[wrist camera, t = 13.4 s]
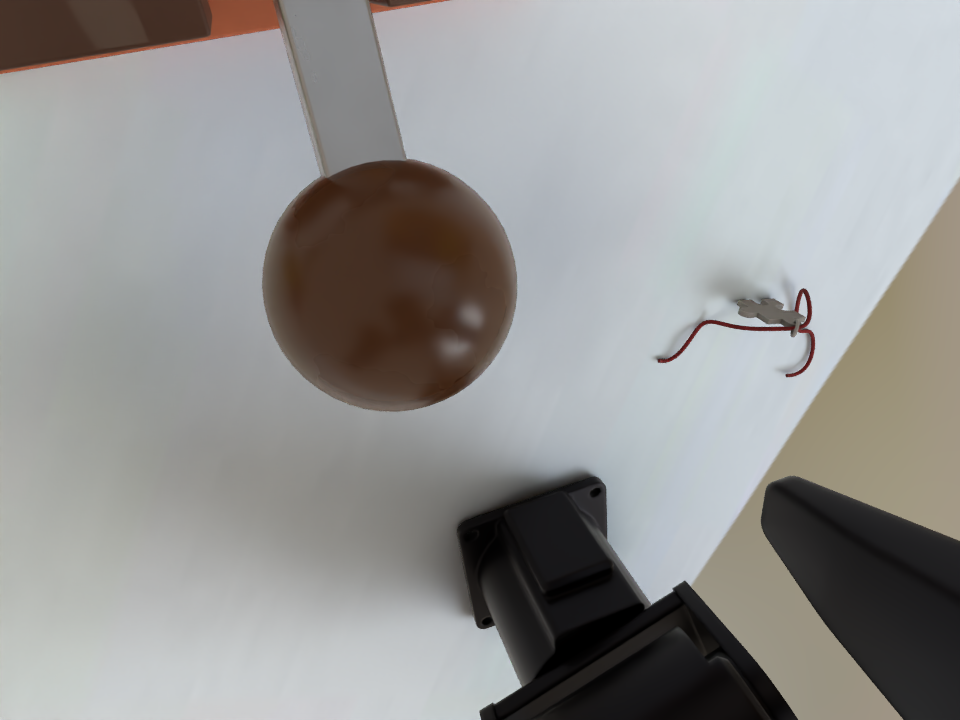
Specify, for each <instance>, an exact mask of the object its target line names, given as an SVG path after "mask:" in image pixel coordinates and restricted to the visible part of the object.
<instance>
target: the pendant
mask: <svg viewBox="0 0 960 720" xmlns="http://www.w3.org/2000/svg"><path fill="white" fill-rule="evenodd" d="M803 293H804V294H805V297H806V301H807V309H808V313H807V319H806V321H805V318H806V317H804V316H803V315H801V314H799V313H798V311H799V305H800V300H801V296H802V294H803ZM737 305H738V306H740V308H739V311H738V314H739V315H741V316H743V317H747V318H754V317H757V318H759V319H760V320H762V321H763V322H765V323H766V324H782V325H783V326H785V327H748V326H739V325H733V324H729V323H725V322H721V321H716V320H706V321H704V322H702V323H700V324H699V325H698V326H697V327H696V328H695V330H694V331H693V332H692V334H691V335H690V337H689V338H688V340H687V341H686V343H685V344H684V345H683V346H682V348H681V349H680V350H679V351H678V352H677V353H676V354H675V355H673V356H672V357H670V358H668V359H658V363H666V362H670V361H672V360H674V359H676V358H677V357H678V356H679V355H680V354H681V353H682V352H683V351H684V350H685V349H686V347H687V346H688V345H689V343H690V342H691V341H692V339H693V338H694V336H695V335H696V333H697V332H698V331H699V329H700V328H701V327H702V326H704V325H706V324H717V325H721V326H725V327H730V328H734V329H740V330H751V331H789V330H791V337H795V336H796V334H797V332H799V333H809V334H810V336H811V352H810V356H809V358H808V361H807V363H806V364H805V366H804V367H803V368H802V369H801V370H799V371H798V372H796V373H792V374H786V377H793V376H797V375H799V374H801V373H803V372H804V371H805V370H806V369H807V368H808V366H809V365H810V363H811V361H812V358H813V355H814V350H815V337H814V334H813V332H812V331H811V330H808V329H803V330H802V328H804V327H806V326H807V325H808V324H809V322H810V320H811V316H812V306H811V300H810V296H809V293H808V291H807V290H806V289H804V288H803V289H801V290H800V291H799V293H798V296H797V300H796V305H795V311H784V310H781V309H782V308H783V306H784V304H782V303H780V302H779V301H777V300H775V299H762V301H761V305H760V304H757V303H755V302H754V301H752V300H738V303H737ZM804 321H805V322H804ZM801 322H804V323H803V324H802V325H801Z"/></svg>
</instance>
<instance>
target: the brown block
mask: <svg viewBox="0 0 960 720" xmlns="http://www.w3.org/2000/svg"><path fill="white" fill-rule="evenodd" d="M442 1H448V0H369V4H370V8H371V12H372V13H375V12H381V11H388V10H394V9H400V8H406V7H412V6H418V5H424V4H430V3H436V2H442ZM278 28H280V25H279V21H278V18H277V14H276V11H275V7H274V3H273V0H0V74H4V73H10V72H16V71H22V70H28V69H34V68H40V67H46V66H52V65H59V64H65V63H71V62H77V61H83V60H89V59H95V58H101V57H107V56H113V55H119V54H126V53H132V52H138V51H144V50H150V49H156V48H162V47H168V46H174V45H180V44H186V43H193V42H199V41H205V40H211V39H217V38H223V37H229V36H235V35H241V34H247V33H253V32H260V31H266V30H272V29H278Z"/></svg>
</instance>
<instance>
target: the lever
mask: <svg viewBox="0 0 960 720" xmlns="http://www.w3.org/2000/svg"><path fill="white" fill-rule="evenodd" d="M273 3H274V7H275V11H276V14H277V18H278V21H279V25H280V29H281V32H282V36H283V40H284V43H285V47H286V51H287V54H288V58H289V62H290V65H291V69H292V73H293V76H294V80H295V84H296V87H297V91H298V94H299V98H300V102H301V105H302V109H303V113H304V116H305V120H306V124H307V127H308V131H309V135H310V138H311V142H312V146H313V149H314V153H315V157H316V160H317V164H318V167H319V171H320V175H321V177H319V178H318V179H316V180H314V181H313V182H312V183H311V184H309V185H308V186H307V187H306V188H305V189H303V190H302V191H301V192H300V193H299V194H298V195H297V196H296V197H295V199H294V200H293V201H292V202H291V203H290V204H289V205H288V207H287V208H286V210H285V211H284V213H283V214H282V216H281V217H280V219H279V220H278V222H277V224H276V226H275V228H274V230H273V233H272V235H271V237H270V240H269V243H268V247H267V250H266V254H265V259H264V265H263V277H262V289H263V299H264V306H265V310H266V314H267V318H268V322H269V324H270V327H271V330H272V332H273V335H274V337H275V339H276V341H277V343H278V345H279V346H280V348H281V350H282V352H283V353H284V355H285V356H286V357H287V359H288V360H289V361H290V363H291V364H292V365H293V367H294V368H295V369H296V370H297V371H298V372H299V373H300V374H301V375H302V376H303V377H304V378H305V379H306V380H308V381H309V382H310V383H312V384H313V385H314V386H315V387H317V388H318V389H320V390H321V391H323V392H325V393H326V394H328V395H330V396H331V397H333V398H335V399H338V400H340V401H342V402H345V403H347V404H349V405H353V406H356V407H360V408H363V409H369V410H375V411H390V412H398V411H407V410H414V409H419V408H423V407H427V406H430V405H433V404H435V403H438V402H441V401H443V400H445V399H447V398H449V397H451V396H453V395H455V394H457V393H458V392H460V391H461V390H463V389H464V388H466V387H467V386H469V385H470V384H471V383H472V382H473V381H475V380H476V379H477V378H478V377H479V376H480V375H481V374H482V373H483V372H484V371H485V370H486V369H487V367H488V366H489V365H490V364H491V363H492V361H493V360H494V358H495V357H496V355H497V354H498V352H499V351H500V349H501V347H502V345H503V343H504V341H505V339H506V338H507V335H508V332H509V330H510V327H511V324H512V321H513V316H514V312H515V307H516V298H517V274H516V267H515V260H514V256H513V252H512V249H511V245H510V243H509V240H508V238H507V235H506V233H505V230H504V228H503V227H502V225H501V223H500V221H499V220H498V218H497V216H496V215H495V213H494V212H493V211H492V209H491V208H490V207H489V205H488V204H487V203H486V202H485V201H484V200H483V199H482V198H481V197H480V196H479V195H478V194H477V193H476V192H475V191H474V190H473V189H472V188H470V187H469V186H468V185H467V184H465V183H464V182H463V181H461V180H460V179H459V178H457V177H455V176H454V175H452V174H450V173H449V172H447V171H445V170H443V169H440V168H438V167H436V166H433V165H431V164H428V163H424V162H420V161H417V160H412V159H406V155H405V151H404V146H403V142H402V138H401V134H400V130H399V125H398V121H397V117H396V113H395V109H394V104H393V100H392V96H391V92H390V88H389V83H388V79H387V75H386V71H385V67H384V62H383V58H382V54H381V50H380V46H379V42H378V37H377V33H376V29H375V25H374V21H373V16H372V12H371V8H370V4H369V0H273Z"/></svg>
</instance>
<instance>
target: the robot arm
mask: <svg viewBox="0 0 960 720" xmlns="http://www.w3.org/2000/svg"><path fill="white" fill-rule="evenodd" d="M592 489H593V490H592ZM761 526H762V529H763V532H764V534H765V536H766V538H767V539H768V541H769V542H770V544H771V545H772V547H773V548H774V550H775V551H776V553H777V554H778V555H779V557H780V558H781V560H782V561H783V563H784V564H785V566H786V567H787V569H788V570H789V572H790V573H791V575H792V576H793V578H794V579H795V581H796V582H797V583H798V585H799V587H800V588H801V590H802V591H803V593H804V594H805V595H806V597H807V598H808V600H809V601H810V603H811V604H812V606H813V607H814V609H815V610H816V612H817V613H818V614H819V616H820V617H821V619H822V620H823V621H824V623H825V624H826V625H827V627H828V628H829V629H830V630H831V632H832V633H833V634H834V636H835V637H836V638H837V639H838V640H839V642H840V643H841V644H842V645H843V647H844V648H845V649H846V650H847V651H848V653H849V654H850V655H851V656H852V658H854V660H855V661H856V662H857V664H858V665H859V666H860V667H861V668H862V670H863V671H864V672H865V673H866V674H867V676H868V677H869V678H870V679H871V681H872V682H873V683H874V684H875V686H876V687H877V688H878V689H879V690H880V692H881V693H882V694H883V695H884V696H885V698H886V699H887V700H888V701H889V702H890V704H891V705H892V706H893V707H894V709H895V710H896V711H897V712H898V713H899V715H900V716H901V717H902V718H903V720H960V541H958V540H956V539H953V538H951V537H948V536H946V535H943V534H941V533H938V532H936V531H933V530H931V529H928V528H926V527H923V526H921V525H918V524H916V523H913V522H911V521H908V520H906V519H903V518H900V517H898V516H895V515H893V514H891V513H888V512H886V511H883V510H880V509H878V508H875V507H873V506H870V505H868V504H865V503H863V502H860V501H858V500H855V499H853V498H850V497H848V496H845V495H843V494H840V493H838V492H835V491H833V490H830V489H828V488H825V487H822V486H820V485H818V484H815V483H813V482H810V481H808V480H805V479H802V478H800V477H796V476H788V477H785V478H782V479H779V480H777V481H774V482H772V483H770V484H769V485H768V486H767V488H766V491H765V497H764V503H763V509H762V516H761ZM471 531H472V532H471ZM469 532H471V533H469ZM468 533H469V534H468ZM457 537H458V542H459V547H460V552H461V557H462V562H463V567H464V572H465V577H466V582H467V587H468V592H469V597H470V602H471V607H472V612H473V617H474V620H475V622H476V625H477V627H478V628H480V629H486V628H489V627H492V626H495V625H496V628H497V630H498V632H499V635H500V637H501V639H502V642H503V644H504V646H505V649H506V651H507V653H508V656H509V658H510V660H511V663H512V665H513V667H514V670H515V672H516V674H517V677H518V679H519V681H520V684H521V686H522V687H521V688H520V689H518V690H517V691H515V692H514V693H512V694H510V695H509V696H507V697H506V698H504V699H503V700H501V701H499V702H498V703H496V704H494V703H491V704H490V705H488V706H486V707H485V708H483V709H482V710H480V716H481V720H798V719H797V717H796V716H795V714H794V713H793V711H792V710H791V708H790V707H789V705H788V704H787V702H786V701H785V700H784V698H783V697H782V695H781V694H780V692H779V691H778V690H777V688H776V687H775V686H774V684H773V683H772V681H771V680H770V679H769V677H768V676H767V675H766V673H765V672H764V671H763V670H762V669H761V667H760V666H759V665H758V663H757V662H756V661H755V660H754V659H753V657H752V656H751V655H750V654H749V653H748V652H747V650H746V649H745V648H744V647H743V646H742V645H741V643H739V641H738V640H737V639H736V638H735V637H734V635H733V634H732V633H731V632H730V631H729V630H728V629H727V628H726V626H725V625H724V624H723V623H722V622H721V621H720V620H719V619H718V617H717V616H716V615H715V614H714V613H713V612H712V610H711V609H710V608H709V607H708V606H707V605H706V604H705V602H704V601H703V600H702V599H701V598H700V597H699V596H698V595H697V594H696V592H695V591H694V590H693V589H692V588H691V587H690V585H689V584H688V583H687V582H686V581H683V582H682V583H680V584H679V585H677V586H676V587H674V588H673V592H671V593H670V594H668V595H666V596H665V597H663V598H662V599H660V600H659V601H657V602H655V603H654V604H652V605H651V603H650V602H649V601H648V599H647V598H646V596H645V595H644V593H643V592H642V590H641V589H640V588H639V586H638V585H637V583H636V582H635V580H634V579H633V577H632V576H631V574H630V573H629V572H628V570H627V569H626V567H625V566H624V564H623V563H622V561H621V560H620V558H619V557H618V556H617V554H616V553H615V551H614V550H613V548H612V547H611V545H610V544H609V542H608V541H607V508H606V487H605V485H604V483H603V482H602V481H601V479H599V478H598V477H591V478H588V479H585V480H582V481H579V482H576V483H573V484H571V485H568V486H565V487H562V488H559V489H556V490H553V491H550V492H548V493H545V494H542V495H539V496H536V497H533V498H530V499H527V500H524V501H522V502H519V503H516V504H513V505H510V506H507V507H504V508H501V509H498V510H496V511H493V512H490V513H487V514H484V515H481V516H478V517H475V518H472V519H470V520H467V521H465V522H463V523H462V524H461V525H459V527H458V529H457Z"/></svg>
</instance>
